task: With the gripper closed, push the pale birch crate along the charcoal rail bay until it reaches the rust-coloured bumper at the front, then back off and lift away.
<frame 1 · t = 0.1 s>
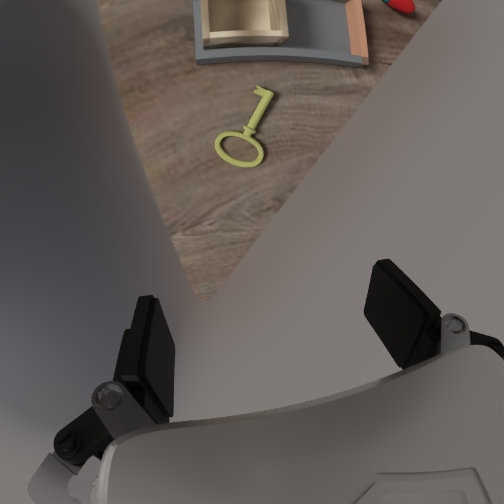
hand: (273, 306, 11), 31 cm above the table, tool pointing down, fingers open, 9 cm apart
rail bay: (278, 23, 28), on the table
key: (247, 129, 37), on the table
crate: (241, 13, 24), point 4 cm above the table, slide at 0.0 cm
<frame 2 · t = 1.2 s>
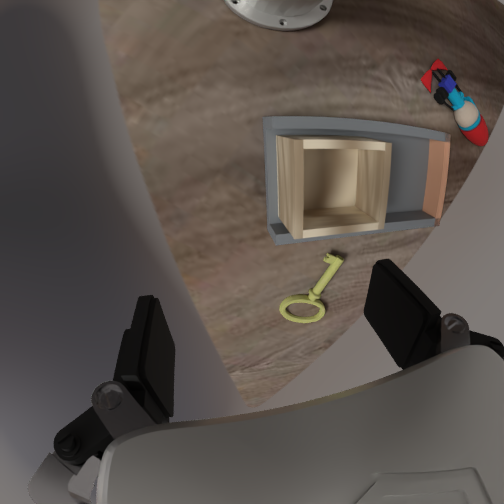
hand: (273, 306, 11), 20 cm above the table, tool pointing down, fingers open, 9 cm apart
rail bay: (360, 171, 31), on the table
toy figure: (451, 105, 28), on the table
key: (311, 288, 38), on the table
crate: (332, 181, 26), point 4 cm above the table, slide at 0.0 cm
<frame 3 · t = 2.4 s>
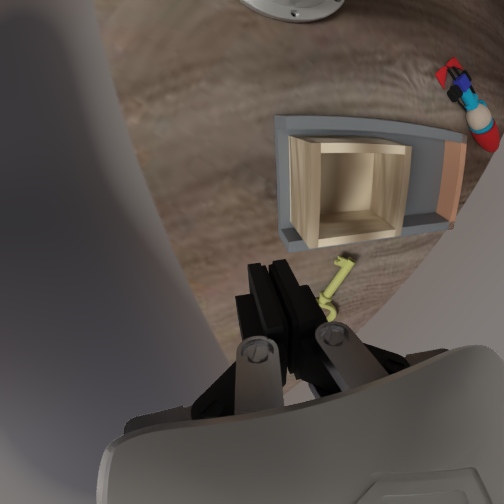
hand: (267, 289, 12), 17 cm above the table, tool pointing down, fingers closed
rail bay: (375, 172, 28), on the table
toy figure: (463, 106, 25), on the table
key: (322, 291, 37), on the table
crate: (348, 185, 24), point 4 cm above the table, slide at 0.0 cm
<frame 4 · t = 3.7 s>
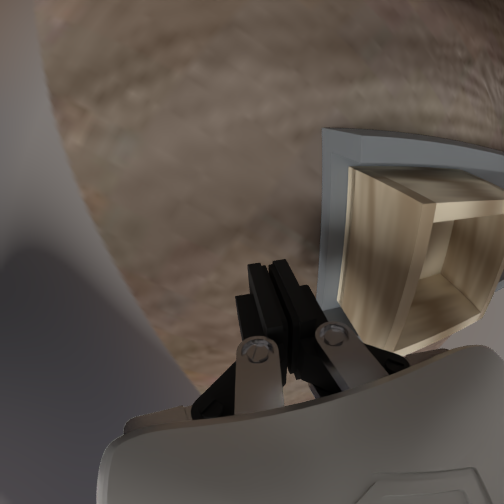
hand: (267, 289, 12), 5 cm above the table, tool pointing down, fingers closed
rail bay: (447, 218, 18), on the table
crate: (434, 253, 14), point 4 cm above the table, slide at 0.0 cm
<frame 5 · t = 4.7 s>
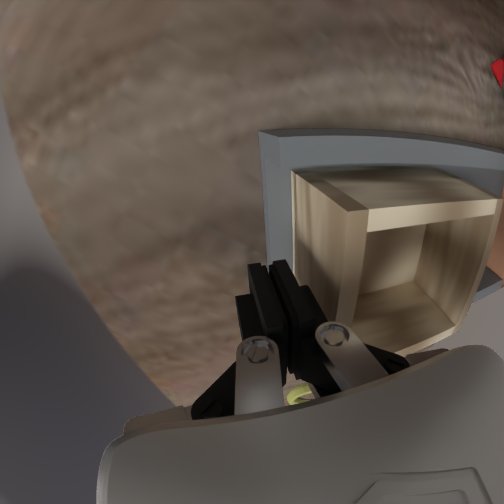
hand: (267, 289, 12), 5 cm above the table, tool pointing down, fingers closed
rail bay: (420, 220, 18), on the table
key: (329, 369, 25), on the table
crate: (395, 262, 13), point 4 cm above the table, slide at 0.3 cm, touching gripper
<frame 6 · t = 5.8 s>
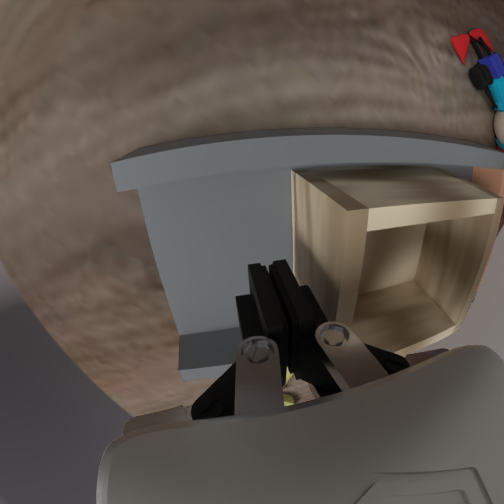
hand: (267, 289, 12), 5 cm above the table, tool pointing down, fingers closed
rail bay: (351, 229, 17), on the table
toy figure: (490, 107, 14), on the table
crate: (395, 261, 13), point 4 cm above the table, slide at 6.6 cm, touching gripper
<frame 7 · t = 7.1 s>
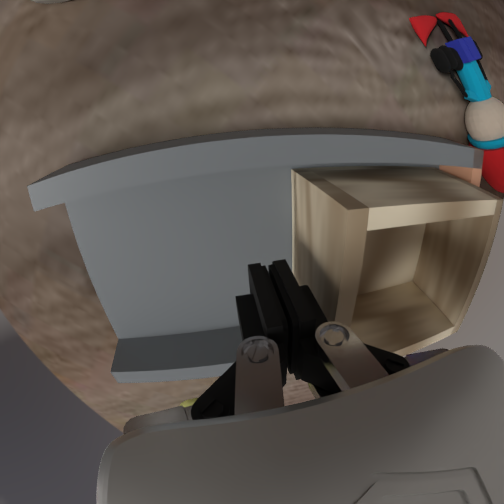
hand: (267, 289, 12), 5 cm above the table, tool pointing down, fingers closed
rail bay: (285, 238, 16), on the table
toy figure: (463, 99, 14), on the table
crate: (395, 261, 13), point 4 cm above the table, slide at 11.0 cm, touching gripper
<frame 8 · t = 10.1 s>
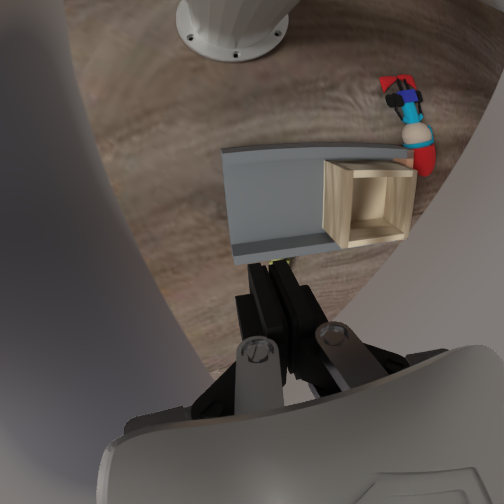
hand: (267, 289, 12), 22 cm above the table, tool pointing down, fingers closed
rail bay: (319, 192, 34), on the table
toy figure: (405, 123, 31), on the table
crate: (369, 199, 31), point 4 cm above the table, slide at 11.0 cm
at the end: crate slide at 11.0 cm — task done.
